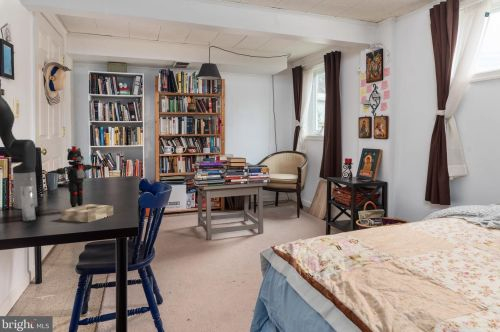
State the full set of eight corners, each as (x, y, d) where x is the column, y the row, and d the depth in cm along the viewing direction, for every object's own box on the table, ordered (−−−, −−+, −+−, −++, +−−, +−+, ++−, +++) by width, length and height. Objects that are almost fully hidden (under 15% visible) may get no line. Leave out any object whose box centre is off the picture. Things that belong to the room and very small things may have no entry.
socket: (61, 219, 141) (61, 210, 141) (88, 212, 154) (87, 204, 154) (88, 222, 136) (87, 212, 136) (113, 214, 149) (112, 205, 149)
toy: (61, 219, 142) (57, 147, 139) (45, 218, 143) (41, 147, 141) (105, 205, 171) (103, 145, 169) (92, 204, 173) (89, 145, 170)
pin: (20, 220, 141) (18, 186, 140) (30, 218, 145) (28, 185, 144) (28, 221, 140) (25, 187, 138) (37, 218, 144) (35, 185, 142)
